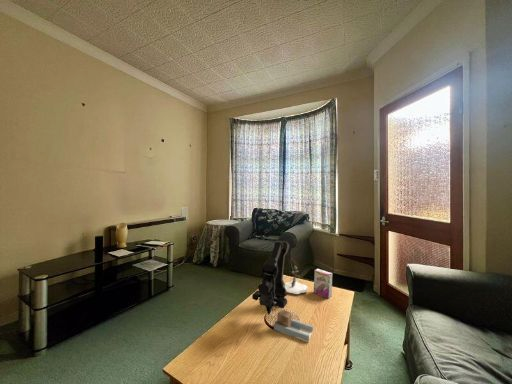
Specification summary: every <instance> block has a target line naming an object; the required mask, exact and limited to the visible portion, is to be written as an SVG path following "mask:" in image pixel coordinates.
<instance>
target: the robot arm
mask: <svg viewBox="0 0 512 384" xmlns="http://www.w3.org/2000/svg"><path fill="white" fill-rule="evenodd" d="M289 249H290V243H288V241H284V240H283V241H282V240H277V241H274V244H273V248H272V251H271V253H270V256H269V258H268V259H266V260H265V262H264V264H263V265H262V268H261V272H260V278H261V279H262V280H261V282H260V284H258V287H257V290H256V291H255V292H253V294H252V296H251V299H252V300H255V301H258V300H259V305H260V306H264V307H265V309H266V312H267V315H270V314H271V312H272V311H273V308H274V307H277V308H279V309H284V308H285V307H286V305H288V300H287V298H286V297H287V292H286V289H285V282H284V270H285V269H284V268H285V258H286V257H285V256H286V255H287V254H288V252H289Z"/></svg>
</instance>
